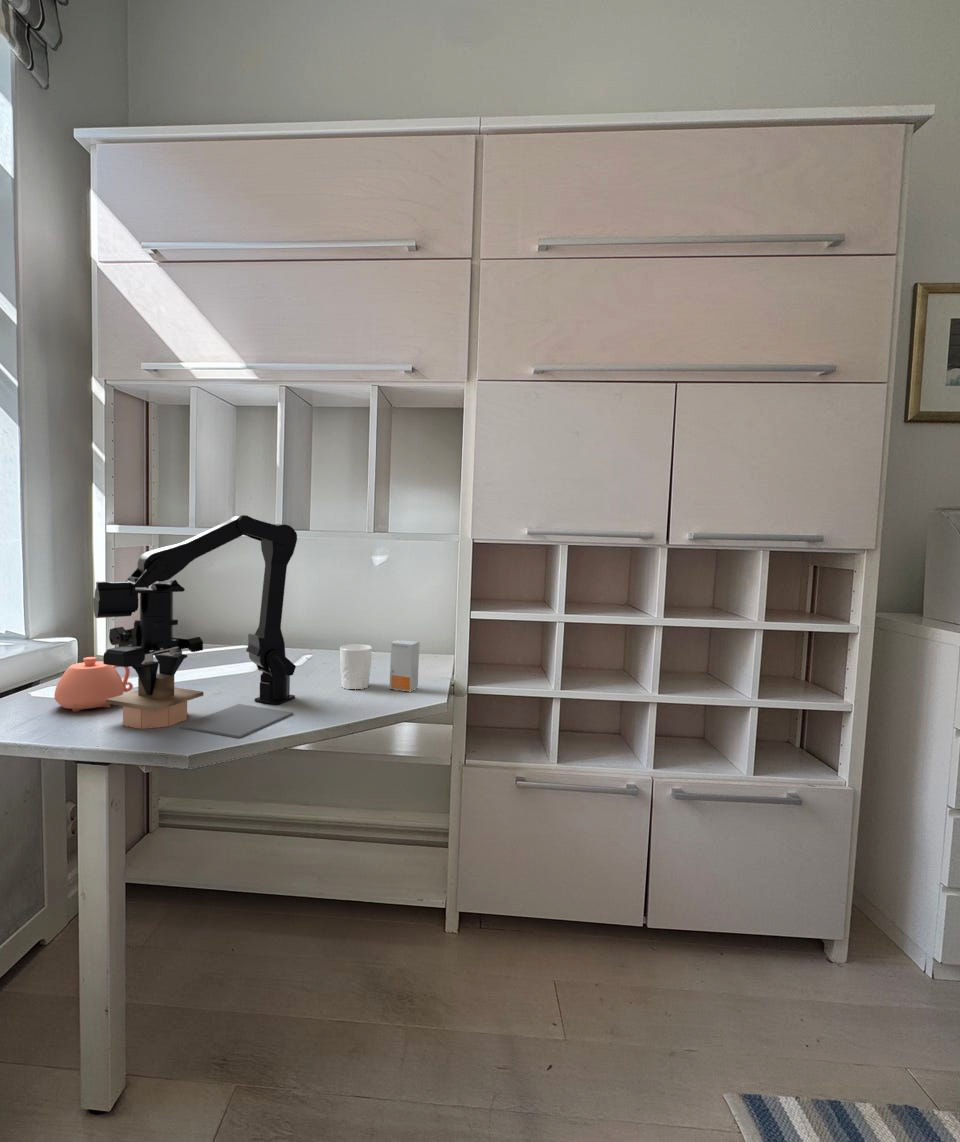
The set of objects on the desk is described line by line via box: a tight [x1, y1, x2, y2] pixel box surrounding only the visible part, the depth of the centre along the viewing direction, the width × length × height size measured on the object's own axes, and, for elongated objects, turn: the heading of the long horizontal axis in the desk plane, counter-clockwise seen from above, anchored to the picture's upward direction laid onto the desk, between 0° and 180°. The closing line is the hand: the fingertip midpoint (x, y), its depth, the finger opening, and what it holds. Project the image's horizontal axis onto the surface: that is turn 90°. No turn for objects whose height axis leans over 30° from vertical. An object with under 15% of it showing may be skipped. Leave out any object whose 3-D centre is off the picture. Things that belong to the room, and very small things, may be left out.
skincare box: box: [389, 639, 420, 692], centre depth 146 cm, size 6×4×12 cm
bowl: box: [122, 701, 188, 730], centre depth 117 cm, size 11×11×4 cm
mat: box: [179, 703, 294, 739], centre depth 118 cm, size 16×14×1 cm
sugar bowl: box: [53, 656, 134, 712], centre depth 125 cm, size 12×14×10 cm
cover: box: [106, 672, 204, 711], centre depth 117 cm, size 12×12×5 cm
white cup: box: [339, 643, 373, 691], centre depth 147 cm, size 8×8×10 cm
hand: (156, 692), depth 117 cm, fingers closed on cover, 3 cm apart
